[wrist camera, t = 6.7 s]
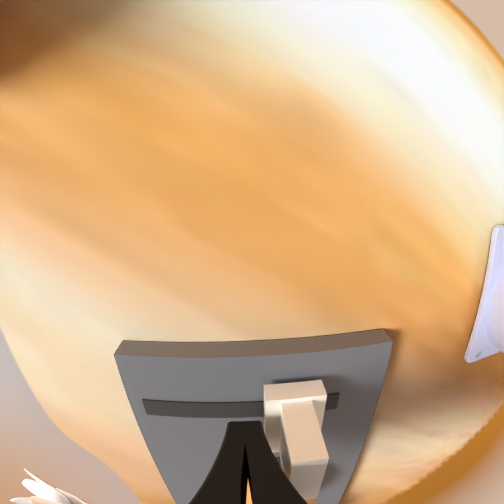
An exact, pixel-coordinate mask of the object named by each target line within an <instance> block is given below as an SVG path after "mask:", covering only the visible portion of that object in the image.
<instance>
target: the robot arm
mask: <svg viewBox="0 0 504 504" xmlns="http://www.w3.org/2000/svg"><path fill="white" fill-rule="evenodd" d="M500 351H501V352H502V353H503V354H504V225H497V226H495V227H494V229H493V231H492V236H491V244H490V252H489V258H488V265H487V270H486V276H485V281H484V286H483V291H482V295H481V300H480V304H479V308H478V312H477V316H476V320H475V323H474V327H473V330H472V334H471V337H470V340H469V344H468V347H467V350H466V353H465V357H464V359H465V360H466V361H467V362H468V363H472V362H474V361H477V360H480V359H483V358H485V357H488V356H490V355H493V354H495V353H498V352H500ZM248 481H249V487H250V493H251V500H252V504H308V503H307V502H306V501H305V500H304V499H303V497H302V496H301V495H300V494H299V493H298V491H297V490H296V489H295V488H294V486H293V485H292V483H291V482H290V481H289V479H288V478H287V476H286V475H285V473H284V472H283V470H282V468H281V467H280V465H279V463H278V461H277V459H276V458H275V456H274V454H273V452H272V450H271V448H270V445H269V443H268V441H267V438H266V436H265V433H264V429H263V425H262V422H261V421H259V420H257V421H230V422H229V423H227V429H226V433H225V436H224V439H223V442H222V445H221V448H220V450H219V453H218V455H217V457H216V459H215V462H214V464H213V466H212V468H211V470H210V471H209V473H208V475H207V477H206V479H205V481H204V482H203V484H202V485H201V487H200V489H199V490H198V492H197V493H196V494H195V496H194V497H193V499H192V500H191V501H190V503H189V504H246V499H247V484H248Z"/></svg>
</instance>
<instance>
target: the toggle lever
mask: <svg viewBox="0 0 504 504" xmlns="http://www.w3.org/2000/svg"><path fill="white" fill-rule="evenodd" d="M326 399H327V393H326V390H325V388H324V385H323V382H322V380H313V381H304V382H294V383H282V384H268V385H264V433H265V436H266V438H267V441H268V443H269V445H270V448H271V450H272V452H273V453H274V452H279V454H280V461H281V468H282V470H283V472H284V473H285V475H286V476H287V478H288V479H289V481H290V482H291V483H292V485H293V486H294V488H295V489H296V490H297V491H298V493H299V494H300V495H301V496H302V497H303V499H304V500H309V499H315V498H317V496H318V493H319V490H320V487H321V484H322V481H323V477H324V474H325V471H326V467H327V464H328V460H329V456H328V453H327V449H326V446H325V443H324V439H323V436H322V433H321V427H322V422H323V417H324V411H325V405H326Z"/></svg>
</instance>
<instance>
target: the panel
mask: <svg viewBox="0 0 504 504" xmlns="http://www.w3.org/2000/svg"><path fill="white" fill-rule="evenodd" d="M392 345H393V340H392V339H391V338H390V337H389V336H388V335H387V333H386V332H385V331H384V330H383V329H376V330H369V331H361V332H353V333H345V334H336V335H326V336H316V337H305V338H292V339H278V340H260V341H237V342H147V341H124V340H123V341H122V342H121V344H120V346H119V347H118V349H117V350H116V352H115V353H114V357H115V360H116V363H117V366H118V370H119V373H120V376H121V379H122V382H123V385H124V388H125V391H126V394H127V397H128V399H129V402H130V405H131V407H132V410H133V413H134V415H135V418H136V420H137V423H138V425H139V428H140V430H141V433H142V435H143V437H144V440H145V442H146V444H147V447H148V449H149V451H150V453H151V455H152V458H153V460H154V462H155V464H156V466H157V468H158V470H159V472H160V474H161V476H162V478H163V480H164V482H165V484H166V486H167V488H168V490H169V491H170V493H171V495H172V497H173V499H174V501H175V502H176V504H189V503H190V501H191V500H192V499H193V497H194V496H195V494H196V493H197V492H198V490H199V489H200V487H201V485H202V484H203V482H204V481H205V479H206V477H207V475H208V473H209V471H210V470H211V468H212V466H213V464H214V462H215V459H216V457H217V455H218V453H219V450H220V448H221V445H222V442H223V439H224V436H225V433H226V429H227V423H229V422H230V421H257V420H259V421H261V422H262V425H263V429H264V385H268V384H282V383H294V382H304V381H313V380H322V382H323V385H324V388H325V390H326V393H327V399H326V405H325V411H324V417H323V422H322V427H321V433H322V436H323V439H324V443H325V446H326V449H327V453H328V456H329V460H328V464H327V467H326V471H325V474H324V477H323V481H322V484H321V487H320V490H319V493H318V496H317V500H316V502H315V503H314V504H338V503H339V501H340V499H341V497H342V495H343V493H344V491H345V488H346V486H347V484H348V482H349V479H350V477H351V475H352V472H353V470H354V468H355V465H356V463H357V460H358V458H359V455H360V453H361V450H362V447H363V445H364V442H365V439H366V436H367V434H368V431H369V428H370V425H371V422H372V419H373V416H374V413H375V409H376V406H377V403H378V399H379V396H380V393H381V389H382V385H383V382H384V378H385V374H386V370H387V366H388V362H389V358H390V354H391V349H392ZM273 454H274V456H275V458H276V459H277V461H278V463H279V464H281V461H280V454H279V452H274V453H273Z"/></svg>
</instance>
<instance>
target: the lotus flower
mask: <svg viewBox="0 0 504 504" xmlns="http://www.w3.org/2000/svg"><path fill="white" fill-rule="evenodd" d="M24 470H25V471H26V472H27V473H28V474H29V475H30V476H31V477H33V478H34V479H35V480H37V481H38V482H37V481H34V480H31V479H24V480H23V482H22V484H23V485H24V486H25V487H26V488H27V489H28V490H30V491H31V492H32V493H34V494H35V495H36V496H38V497H36V496H31V497H29V498H14V499H11V500H10V501H11V502H15V503H19V504H88V503H87V502H85V501H83V500H81V499H80V498H78V497H76V496H74V495H72V494H70V493H68V492H65V491H63V490H61V489H58V488H56V487H55V488H54V487H52V486H51V485H50V484H48V483H46V482H45V481H43V480H42V479H40V478H39V477H37V476H36V475H34V474H33V473H31V472H29V471H28V470H26V469H25V468H24Z"/></svg>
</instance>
